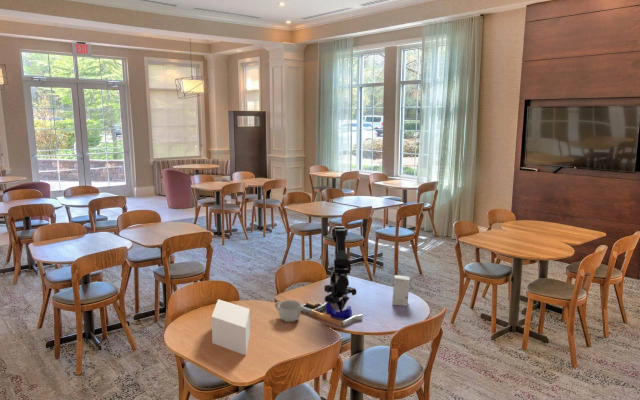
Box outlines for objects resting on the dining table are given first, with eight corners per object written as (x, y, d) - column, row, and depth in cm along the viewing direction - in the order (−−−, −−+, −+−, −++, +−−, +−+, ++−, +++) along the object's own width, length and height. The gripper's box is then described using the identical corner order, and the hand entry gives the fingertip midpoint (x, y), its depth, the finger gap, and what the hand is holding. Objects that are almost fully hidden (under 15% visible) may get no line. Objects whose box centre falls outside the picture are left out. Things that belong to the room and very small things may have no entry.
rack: (317, 303, 254) (317, 296, 254) (362, 319, 235) (363, 311, 234) (299, 310, 244) (299, 303, 244) (345, 328, 225) (345, 320, 224)
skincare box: (392, 305, 254) (393, 278, 251) (392, 300, 259) (394, 274, 257) (408, 306, 252) (409, 279, 249) (408, 302, 258) (409, 275, 255)
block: (236, 320, 232) (235, 296, 230) (265, 351, 203) (265, 323, 200) (200, 327, 224) (199, 302, 222) (225, 361, 194) (225, 332, 192)
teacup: (305, 319, 234) (305, 304, 232) (289, 326, 226) (289, 310, 225) (285, 311, 243) (285, 296, 242) (269, 317, 235) (269, 302, 234)
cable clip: (351, 314, 239) (351, 304, 237) (349, 319, 235) (349, 309, 233) (329, 311, 243) (328, 300, 241) (326, 316, 239) (325, 305, 237)
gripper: (340, 273, 251) (339, 301, 253) (316, 282, 237) (316, 312, 240) (357, 278, 243) (356, 307, 246) (334, 287, 230) (333, 318, 232)
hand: (340, 311), depth 241 cm, fingers closed
